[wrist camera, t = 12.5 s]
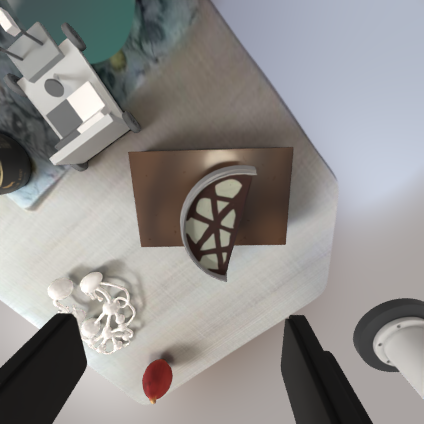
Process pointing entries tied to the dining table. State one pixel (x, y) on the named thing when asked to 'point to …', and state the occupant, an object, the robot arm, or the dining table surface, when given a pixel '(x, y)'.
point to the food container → (215, 217)
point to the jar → (12, 165)
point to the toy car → (65, 92)
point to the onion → (157, 379)
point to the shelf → (192, 173)
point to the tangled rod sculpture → (92, 325)
